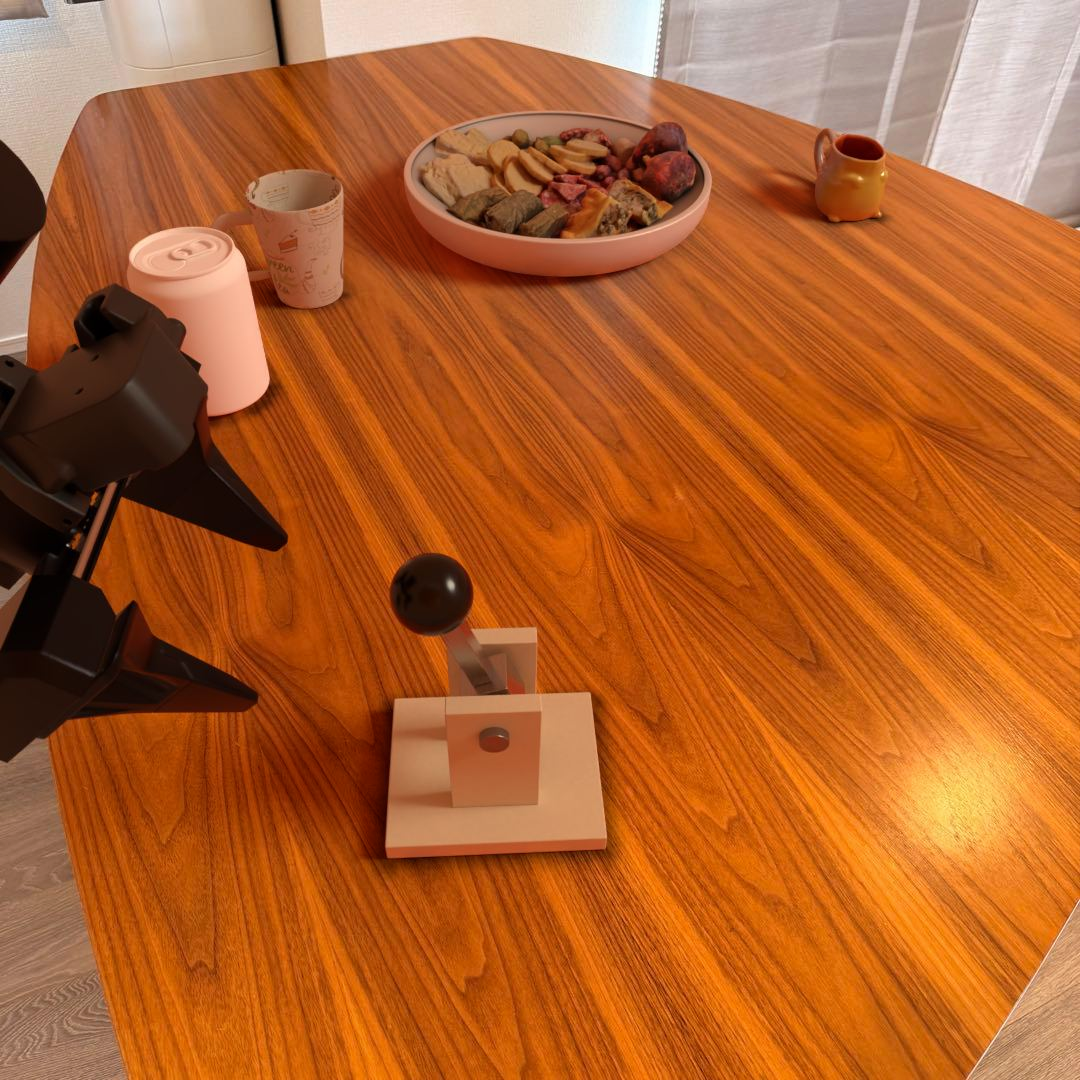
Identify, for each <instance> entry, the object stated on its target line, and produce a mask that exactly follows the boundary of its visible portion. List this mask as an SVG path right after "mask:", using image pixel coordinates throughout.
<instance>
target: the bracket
mask: <svg viewBox="0 0 1080 1080" xmlns="http://www.w3.org/2000/svg"><path fill="white" fill-rule="evenodd" d="M470 629H471V630H472V632H473V634H474V635H475V637H476V639H477V640H478V642H479V644H480V645H481V647H482V649H483V650H484V652H485V653H486V655H487V656H491V655H495V654H499V653H502V652H506V653H507V655H508V657H509V658H510V660H511V662H512V664H513V665H514V667H515V669H516V670H517V672H518V674H519V676H520V677H521V679H522V681H523V682H524V684H525V694H515V695H485V696H460V666H459V664H458V663H457V661H456V660H455V658H454V656H453V655H452V653H451V652H450V650H449V649H448V647H447V646H446V645H445V651H446V665H447V678H448V692H449V696H429V697H404V698H402V697H401V698H398V697H397V698H394V700H393V709H392V711H393V712H392V728H391V745H390V759H389V760H390V761H389V774H388V775H389V776H388V790H387V791H388V792H387V805H386V806H387V808H386V821H385V822H386V823H385V837H384V839H385V841H384V849H385V854H386V858H387V859H404V858H406V859H407V858H431V857H452V856H454V857H455V856H477V855H479V856H481V855H501V854H522V853H523V854H524V853H525V854H526V853H527V854H528V853H546V852H547V853H548V852H572V851H596V850H597V851H598V850H606V847H607V840H608V835H607V834H608V833H607V825H606V824H607V823H606V815H605V805H604V799H603V790H602V781H601V780H602V779H601V771H600V764H599V755H598V747H597V738H596V730H595V729H596V728H595V721H594V711H593V703H592V695H591V692H590V691H583V692H582V691H581V692H580V691H579V692H578V691H577V692H554V693H553V692H552V693H548V692H547V693H537V678H538V677H537V676H538V674H537V673H538V672H537V671H538V631H537V630H538V629H537V627H536V626H527V627H526V626H525V627H523V626H522V627H495V628H493V627H491V628H488V627H487V628H470Z"/></svg>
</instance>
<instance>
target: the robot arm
mask: <svg viewBox="0 0 1080 1080" xmlns="http://www.w3.org/2000/svg"><path fill="white" fill-rule="evenodd" d="M47 212H48V207H47V203H46V200H45V195H44V192H43V190H42V189H41V187H40V185H39V182H38V181H37V179H36V177H35V176H34V175H33V173H32V172H31V171H30V169H29V168H28V167H27V165H26V164H25V163H24V162H23V160H22V159H21V158H20V156H18V154H16V153H15V151H13V149H11V147H10V146H8V145H7V144H6V143H5V141H3V140H2V139H0V286H1V285H2V283H4V281H5V280H6V278H7V277H8V275H9V274H10V272H12V270H13V268H14V267H15V266H16V265H17V263H18V262H19V261H20V259H21V258H22V257H23V255H24V254H25V252H26V251H27V250H28V248H29V247H30V246H31V244H32V243H33V241H34V240H35V239H36V237H37V236H38V235H39V233H40V232H41V231H42V229H43V228H44V226H45V224H46V222H47V214H48V213H47ZM73 329H74V332H75V335H76V338H77V341H78V344H77V343H72V344H70V345H68V346H67V347H66V349H65V351H64V353H63V355H62V356H61V358H60V359H59V360H58V361H57V362H55V363H53V364H52V365H50V366H47V367H46V368H44V369H42V370H37V369H35V368H32V367H29V366H28V365H26V364H25V363H23V362H21V361H19V360H18V359H16V358H15V357H13V356H10V355H8V354H1V355H0V587H1V588H3V589H5V590H7V591H10V590H11V589H12V588H13V587H14V586H15V585H16V584H17V583H18V582H19V581H20V580H21V579H22V577H23V576H25V574H28V575H29V576H30V578H28V580H27V581H25V583H24V584H23V585H22V586H21V587H20V588H19V589H18V590H17V591H15V593H14V594H13V595H12V596H11V597H10V598H9V599H8V600H7V601H6V602H5V603H4V604H3V605H2V606H1V607H0V762H2V763H5V764H8V763H9V762H10V761H12V760H13V759H14V758H15V757H16V756H18V755H19V754H20V753H21V752H22V751H23V750H24V749H25V748H27V747H28V746H29V745H30V744H31V743H32V742H33V741H35V740H36V739H39V740H46V739H47V738H49V737H50V736H51V735H52V734H53V733H55V732H56V731H57V730H58V729H59V728H60V727H62V725H64V724H65V723H66V722H68V721H74V720H81V719H82V720H83V719H92V718H101V717H102V718H103V717H110V716H119V715H120V716H121V715H132V714H152V713H153V714H198V713H199V714H203V713H204V714H206V713H207V714H208V713H211V714H212V713H215V714H216V713H218V714H219V713H223V714H224V713H245V712H247V711H249V710H250V709H252V708H253V707H254V706H255V705H257V704H258V703H259V697H260V695H259V694H260V693H259V692H258V691H256V690H255V689H254V688H252V687H250V686H249V685H248V684H246V683H245V682H243V681H242V680H240V679H239V678H237V677H235V676H234V675H232V674H230V673H228V672H226V671H224V670H222V669H220V668H218V667H217V666H214V665H213V664H211V663H208V662H206V661H204V660H203V659H200V658H198V657H196V656H195V655H193V654H190V653H189V652H187V651H185V650H182V649H181V648H179V647H177V646H175V645H173V644H171V643H169V642H167V641H165V640H163V639H161V638H159V637H157V636H156V635H155V634H154V633H153V632H152V630H151V628H150V625H149V624H148V621H147V620H146V618H145V616H144V613H143V612H142V609H141V607H140V605H139V603H138V602H137V601H136V600H135V599H132V600H131V601H130V602H129V603H128V604H126V605H125V606H124V607H123V608H122V610H120V611H119V612H118V613H117V614H116V613H115V611H114V609H113V608H112V605H111V603H110V602H109V600H108V598H107V596H106V595H105V593H104V591H103V589H102V588H101V587H99V586H97V585H94V584H93V583H91V579H92V576H93V573H94V571H95V568H96V566H97V563H98V560H99V558H100V555H101V552H102V549H103V547H104V544H105V542H106V539H107V537H108V534H109V531H110V529H111V526H112V523H113V520H114V518H115V515H116V512H117V510H118V508H119V504H120V502H121V499H122V498H123V499H126V500H128V501H130V502H133V503H136V504H139V505H142V506H144V507H146V508H149V509H152V510H154V511H157V512H159V513H163V514H166V515H168V516H171V517H173V518H176V519H178V520H181V521H184V522H187V523H189V524H191V525H194V526H197V527H200V528H202V529H204V530H207V531H209V532H213V533H215V534H217V535H220V536H222V537H225V538H228V539H231V540H233V541H235V542H237V543H238V542H239V543H241V544H244V545H247V546H252V547H254V548H259V549H262V550H265V551H269V552H272V553H277V552H279V551H280V550H281V549H282V548H284V547H285V546H286V545H287V544H288V542H289V534H288V533H287V532H286V530H285V529H284V528H283V526H282V525H281V524H280V523H279V521H277V519H276V518H274V516H273V515H272V514H271V512H270V511H269V510H268V509H267V508H266V506H265V505H264V504H263V503H262V502H261V501H260V499H259V498H258V497H257V496H256V494H254V492H253V491H252V490H251V489H250V488H249V487H248V485H247V484H246V483H245V482H244V481H243V480H242V478H241V477H240V475H238V472H236V471H235V470H234V468H233V467H232V466H231V464H230V463H229V462H228V461H227V459H226V458H225V457H224V455H223V454H222V453H221V451H220V450H219V448H218V447H217V446H216V444H215V442H214V440H213V438H212V433H211V428H210V420H209V416H208V413H207V400H208V394H207V393H208V385H207V384H206V383H205V381H204V380H203V379H202V378H201V377H200V375H199V371H200V368H201V365H202V364H200V363H199V362H197V361H196V360H194V359H193V358H191V357H190V356H188V355H187V354H185V353H184V352H182V351H181V350H180V349H181V346H182V344H183V341H184V338H185V336H186V327H185V325H184V324H183V323H182V322H181V321H179V320H177V319H175V318H167V317H166V316H165V314H164V313H163V312H162V311H161V310H160V309H159V308H158V307H156V306H155V305H153V304H152V303H150V302H148V301H146V300H145V299H143V298H141V297H139V296H137V295H136V294H134V293H132V292H131V291H130V289H127V288H125V287H123V286H121V285H120V284H118V283H115V282H113V283H111V284H110V285H107V286H105V287H103V288H101V289H98V290H96V291H95V292H92V293H90V294H88V295H87V296H86V297H85V298H84V300H83V302H82V304H81V306H80V308H79V310H78V311H77V313H76V316H75V317H74V319H73ZM95 493H96V496H95V498H94V502H93V496H94V495H95ZM92 502H93V504H91V503H92ZM78 535H80V536H79V539H77V538H76V537H77V536H78ZM76 540H77V545H75V547H74V545H73V544H74V543H75V542H76ZM73 547H74V548H73Z"/></svg>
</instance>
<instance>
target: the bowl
mask: <svg viewBox="0 0 1080 1080" xmlns="http://www.w3.org/2000/svg"><path fill="white" fill-rule="evenodd" d="M712 182H713V179H712V173H711V170H710V168H709V165H708V164H707V162H706V161H705V159H704V158H703V157H702V155H700V153H698V151H697V150H696V149H694V148H693V147H692V146H691V145H689V144H688V137H687V134H686V131H685V130H684V128H683V127H682V126H681V125H680V124H678V123H677V122H674V121H662V122H660V123H657V124H656V125H654V126H652V125H648V124H645V123H642V122H639V121H635V120H632V119H628V118H625V117H624V118H623V117H618V116H613V115H607V114H602V113H595V112H588V111H587V112H586V111H576V110H557V109H554V110H550V109H549V110H545V109H544V110H543V109H541V110H521V111H512V112H504V113H503V112H502V113H497V114H491V115H487V116H481V117H477V118H473V119H469V120H465V121H463V122H460V123H456V124H453V125H452V126H448V127H446V128H444V129H441V130H439V131H437V132H436V133H434V134H432V135H430V136H429V137H427V138H426V139H424V140H423V141H422V142H419V144H418V145H417V146H416V147H415V148H414V149H413V150H411V153H410V154H409V155H408V157H407V159H406V160H405V163H404V167H403V183H404V191H405V196H406V200H407V203H408V206H409V207H410V210H411V212H412V213H413V216H414V217H415V218H416V220H417V221H418V223H419V224H420V225H421V226H422V228H423V229H424V230H425V231H426V232H427V233H428V234H429V235H430V236H431V237H432V238H433V239H435V241H437V242H438V243H439V244H440V245H442V246H444V247H445V248H447V249H448V250H450V251H452V252H454V253H455V254H457V255H460V257H461V256H462V257H463V258H466V259H468V260H470V261H473V262H475V263H478V264H481V265H484V266H487V267H490V268H494V269H497V270H502V271H507V272H511V273H516V274H524V275H530V276H540V277H557V278H558V277H562V278H563V277H564V278H566V277H567V278H568V277H584V276H595V275H603V274H609V273H613V272H618V271H623V270H626V269H631V268H634V267H637V266H640V265H642V264H645V263H648V262H650V261H653V260H655V259H657V258H659V257H661V256H663V255H665V254H666V253H668V252H669V251H671V250H673V249H674V248H675V247H677V246H678V245H680V244H681V243H683V241H684V240H686V239H687V238H688V236H690V235H691V234H692V232H693V231H694V230H695V229H696V227H697V226H698V225H699V223H700V222H701V220H702V219H703V217H704V215H705V213H706V211H707V208H708V205H709V202H710V196H711V193H712V192H711V190H712V185H713V183H712Z"/></svg>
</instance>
